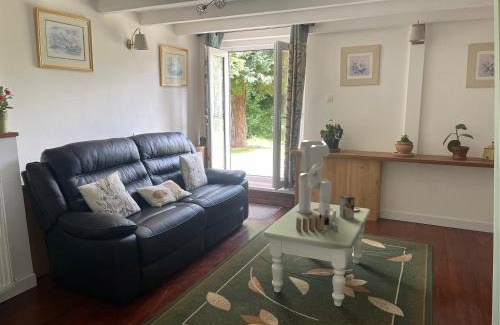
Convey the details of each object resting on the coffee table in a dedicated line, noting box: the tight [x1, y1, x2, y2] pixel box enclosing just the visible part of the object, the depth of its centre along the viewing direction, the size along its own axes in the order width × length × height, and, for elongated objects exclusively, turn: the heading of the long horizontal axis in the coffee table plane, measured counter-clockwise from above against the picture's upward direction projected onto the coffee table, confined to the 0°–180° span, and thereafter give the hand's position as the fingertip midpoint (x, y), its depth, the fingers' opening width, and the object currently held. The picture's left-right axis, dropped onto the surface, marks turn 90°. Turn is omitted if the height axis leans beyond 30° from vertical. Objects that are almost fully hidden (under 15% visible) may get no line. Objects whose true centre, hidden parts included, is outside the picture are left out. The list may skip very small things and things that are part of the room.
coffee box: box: [339, 195, 356, 219], centre depth 274 cm, size 9×6×16 cm
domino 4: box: [314, 215, 321, 232], centre depth 247 cm, size 6×2×9 cm, turn 8°
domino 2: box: [301, 216, 309, 233], centre depth 246 cm, size 6×2×9 cm, turn 8°
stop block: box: [328, 220, 339, 232], centre depth 249 cm, size 8×3×4 cm, turn 8°
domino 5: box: [320, 216, 328, 232], centre depth 248 cm, size 6×2×9 cm, turn 9°
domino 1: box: [295, 216, 303, 233], centre depth 245 cm, size 6×2×9 cm, turn 8°
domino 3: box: [308, 215, 315, 232], centre depth 246 cm, size 6×2×9 cm, turn 8°
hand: (324, 222), depth 248 cm, fingers open, 9 cm apart
